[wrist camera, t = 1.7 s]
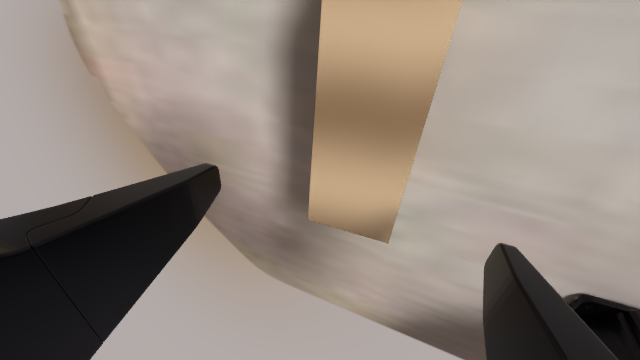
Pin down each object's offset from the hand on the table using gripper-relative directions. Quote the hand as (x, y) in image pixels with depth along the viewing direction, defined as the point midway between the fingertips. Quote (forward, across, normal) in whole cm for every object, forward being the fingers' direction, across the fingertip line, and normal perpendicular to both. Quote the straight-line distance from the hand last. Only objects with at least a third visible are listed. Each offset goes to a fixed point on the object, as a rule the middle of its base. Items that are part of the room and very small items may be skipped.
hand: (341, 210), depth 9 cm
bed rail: (+8, 0, -3) cm, 9 cm away
